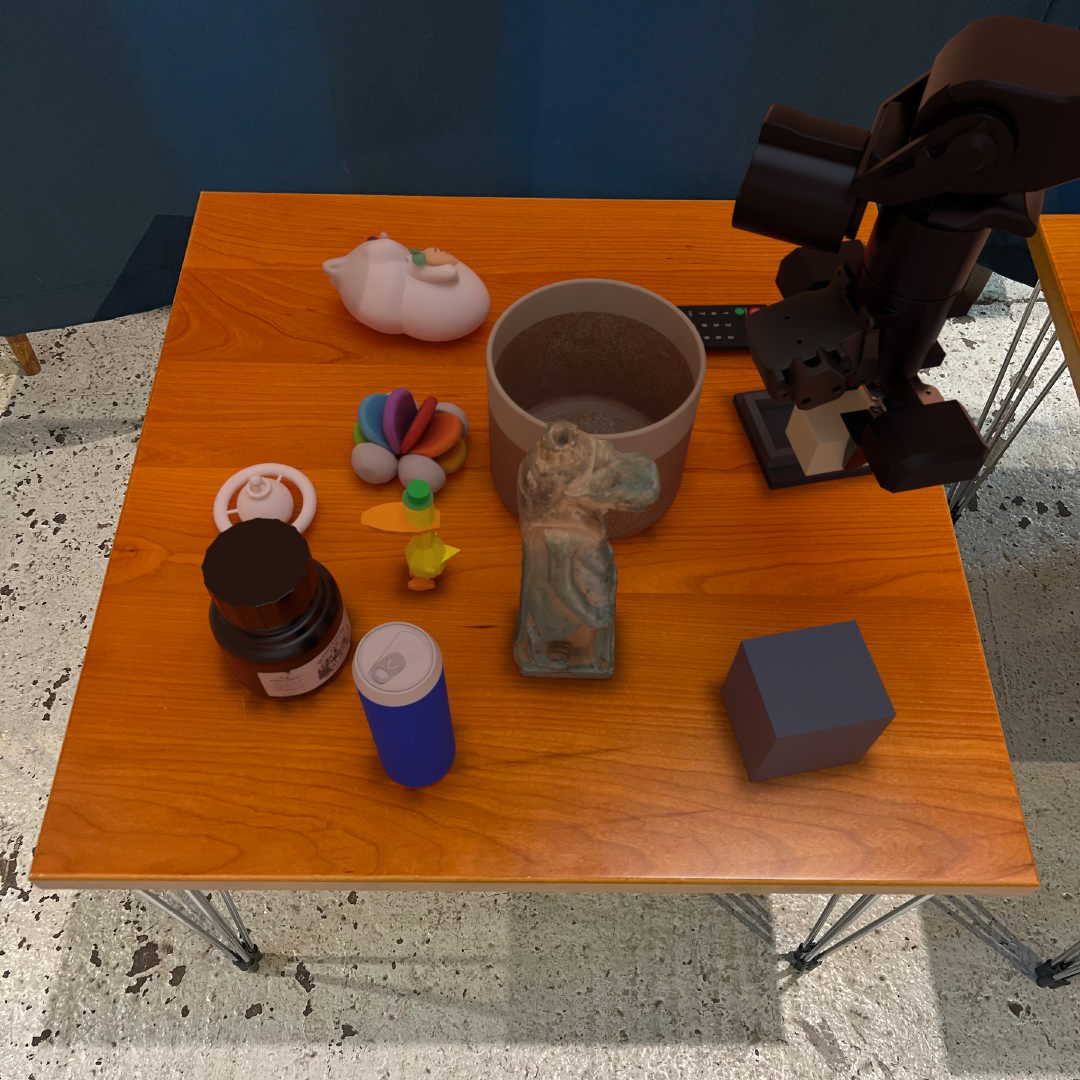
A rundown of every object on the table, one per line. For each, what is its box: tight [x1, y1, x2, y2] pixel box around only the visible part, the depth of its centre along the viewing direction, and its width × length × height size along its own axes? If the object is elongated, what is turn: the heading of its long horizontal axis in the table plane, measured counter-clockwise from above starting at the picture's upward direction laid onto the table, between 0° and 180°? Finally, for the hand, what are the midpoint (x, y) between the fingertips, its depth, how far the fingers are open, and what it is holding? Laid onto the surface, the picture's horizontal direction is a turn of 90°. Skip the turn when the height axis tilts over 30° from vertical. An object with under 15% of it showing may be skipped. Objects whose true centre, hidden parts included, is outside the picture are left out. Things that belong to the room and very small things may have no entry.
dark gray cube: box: [720, 619, 897, 783], centre depth 66 cm, size 8×7×8 cm
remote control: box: [675, 303, 768, 353], centre depth 89 cm, size 5×24×1 cm, turn 92°
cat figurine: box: [321, 231, 491, 343], centre depth 87 cm, size 10×8×15 cm
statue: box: [512, 420, 661, 680], centre depth 62 cm, size 7×8×25 cm
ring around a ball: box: [212, 462, 318, 535], centre depth 76 cm, size 8×6×8 cm
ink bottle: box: [200, 517, 353, 701], centre depth 67 cm, size 10×9×12 cm
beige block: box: [785, 387, 876, 476], centre depth 66 cm, size 6×4×4 cm, turn 103°
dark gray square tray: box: [732, 388, 873, 491], centre depth 83 cm, size 9×10×2 cm
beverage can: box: [351, 621, 456, 788], centre depth 61 cm, size 5×5×15 cm
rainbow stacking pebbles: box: [350, 387, 470, 494], centre depth 79 cm, size 8×10×7 cm
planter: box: [485, 277, 707, 543], centre depth 75 cm, size 16×16×14 cm
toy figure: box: [360, 479, 461, 592], centre depth 70 cm, size 7×4×12 cm, turn 91°
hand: (837, 443), depth 67 cm, fingers closed on beige block, 4 cm apart
